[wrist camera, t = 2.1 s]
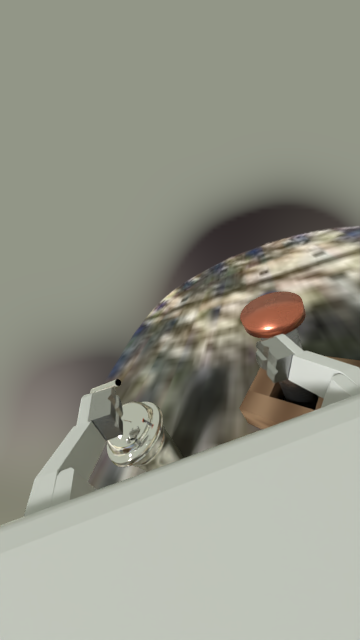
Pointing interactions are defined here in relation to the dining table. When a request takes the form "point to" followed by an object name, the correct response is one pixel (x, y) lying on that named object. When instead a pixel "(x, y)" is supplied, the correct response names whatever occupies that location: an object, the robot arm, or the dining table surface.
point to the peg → (274, 319)
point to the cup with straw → (141, 436)
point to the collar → (274, 401)
